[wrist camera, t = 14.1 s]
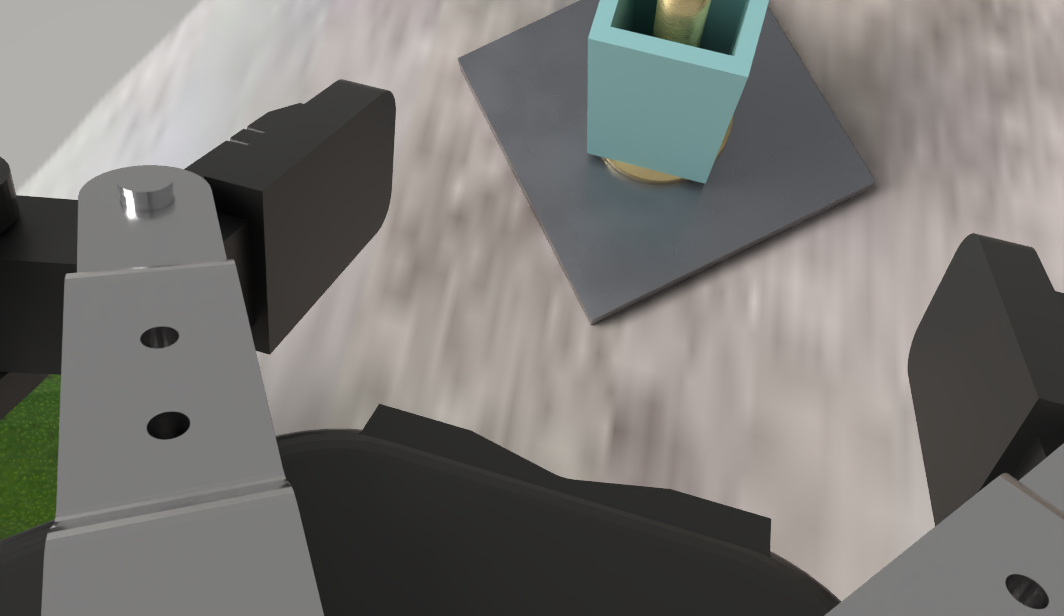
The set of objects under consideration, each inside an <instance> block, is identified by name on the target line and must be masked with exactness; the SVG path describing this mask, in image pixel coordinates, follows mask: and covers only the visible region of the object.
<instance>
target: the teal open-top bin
mask: <svg viewBox="0 0 1064 616" xmlns="http://www.w3.org/2000/svg"><path fill="white" fill-rule="evenodd" d="M657 1H658V0H600V1H599V4H598V8H597V11H596V14H595V17H594V20H593V24H592V27H591V30H590V33H589V36H588V97H587V153H588V154H592V155H596V156H600V157H604V158H608V159H612V160H615V161H619V162H623V163H627V164H631V165H635V166H639V167H642V168H646V169H650V170H654V171H658V172H662V173H666V174H669V175H673V176H677V177H681V178H685V179H689V180H693V181H696V182H700V183H704V184H706V181H707V179H708V176H709V174H710V171H711V169H712V166H713V164H714V161H715V159H716V156H717V154H718V151H719V149H720V146H721V144H722V141H723V139H724V136H725V134H726V131H727V129H728V126H729V124H730V121H731V119H732V116H733V114H734V111H735V109H736V106H737V104H738V101H739V99H740V96H741V94H742V91H743V89H744V86H745V84H746V81H747V79H748V76H749V72H750V69H751V65H752V61H753V58H754V54H755V50H756V47H757V43H758V39H759V36H760V32H761V28H762V25H763V21H764V17H765V13H766V10H767V6H768V2H769V0H711V2H710V6H709V10H708V14H707V18H706V22H705V25H704V29H703V33H702V37H701V41H700V45H699V48H697V47H693V46H689V45H685V44H681V43H677V42H672V41H668V40H664V39H660V38H656V37H652V34H653V27H654V21H655V14H656V7H657Z"/></svg>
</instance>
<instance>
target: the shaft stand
mask: <svg viewBox="0 0 1064 616" xmlns="http://www.w3.org/2000/svg"><path fill="white" fill-rule="evenodd" d="M599 1H600V0H580V1H578V2H576V3H574V4H572V5H569V6H567V7H565V8H563V9H561V10H559V11H557V12H555V13H553V14H550V15H548V16H546V17H544V18H542V19H540V20H538V21H536V22H534V23H531V24H529V25H527V26H525V27H523V28H521V29H519V30H517V31H515V32H512V33H510V34H508V35H506V36H504V37H502V38H500V39H498V40H496V41H493V42H491V43H489V44H487V45H485V46H483V47H481V48H479V49H477V50H475V51H472V52H470V53H468V54H466V55H464V56H462V57H460V58H458V62H459V65H460V68H461V71H462V73H463V75H464V77H465V79H466V81H467V83H468V85H469V87H470V89H471V91H472V93H473V95H474V97H475V99H476V101H477V103H478V104H479V106H480V108H481V110H482V112H483V114H484V116H485V118H486V120H487V122H488V124H489V126H490V128H491V130H492V132H493V134H494V136H495V138H496V140H497V142H498V144H499V146H500V148H501V150H502V152H503V153H504V155H505V157H506V159H507V161H508V163H509V165H510V167H511V169H512V171H513V173H514V175H515V177H516V179H517V181H518V183H519V185H520V187H521V189H522V191H523V193H524V195H525V197H526V199H527V200H528V202H529V204H530V206H531V208H532V210H533V212H534V214H535V216H536V218H537V220H538V222H539V224H540V226H541V228H542V230H543V232H544V234H545V236H546V238H547V240H548V242H549V244H550V246H551V247H552V249H553V251H554V253H555V255H556V257H557V259H558V261H559V263H560V265H561V267H562V269H563V271H564V273H565V275H566V277H567V279H568V281H569V283H570V285H571V287H572V289H573V291H574V293H575V294H576V296H577V298H578V300H579V302H580V304H581V306H582V308H583V310H584V312H585V314H586V316H587V318H588V320H589V322H590V324H591V325H593V324H595V323H597V322H599V321H601V320H603V319H605V318H607V317H609V316H611V315H613V314H615V313H617V312H619V311H621V310H623V309H625V308H627V307H629V306H631V305H633V304H635V303H637V302H640V301H642V300H644V299H646V298H648V297H650V296H652V295H654V294H656V293H658V292H660V291H662V290H664V289H666V288H668V287H670V286H672V285H674V284H676V283H678V282H680V281H682V280H685V279H687V278H689V277H691V276H693V275H695V274H697V273H699V272H701V271H703V270H705V269H707V268H709V267H711V266H713V265H715V264H717V263H719V262H721V261H723V260H725V259H727V258H729V257H732V256H734V255H736V254H738V253H740V252H742V251H744V250H746V249H748V248H750V247H752V246H754V245H756V244H758V243H760V242H762V241H764V240H766V239H768V238H770V237H772V236H774V235H776V234H779V233H781V232H783V231H785V230H787V229H789V228H791V227H793V226H795V225H797V224H799V223H801V222H803V221H805V220H807V219H809V218H811V217H813V216H815V215H817V214H819V213H821V212H824V211H826V210H828V209H830V208H832V207H834V206H836V205H838V204H840V203H842V202H844V201H846V200H848V199H850V198H852V197H854V196H856V195H858V194H860V193H862V192H864V191H866V190H867V189H868V188H869V187H870V186H871V185H872V184H873V183H874V182H875V180H874V178H873V177H872V175H871V173H870V172H869V170H868V168H867V167H866V165H865V163H864V162H863V160H862V159H861V157H860V155H859V154H858V152H857V150H856V149H855V147H854V146H853V144H852V142H851V141H850V139H849V137H848V136H847V134H846V133H845V131H844V129H843V128H842V126H841V124H840V123H839V121H838V120H837V118H836V116H835V115H834V113H833V111H832V110H831V108H830V107H829V105H828V103H827V102H826V100H825V98H824V97H823V95H822V94H821V92H820V90H819V89H818V87H817V85H816V84H815V82H814V81H813V79H812V77H811V76H810V74H809V72H808V71H807V69H806V68H805V66H804V64H803V63H802V61H801V59H800V58H799V56H798V55H797V53H796V51H795V50H794V48H793V46H792V45H791V43H790V42H789V40H788V38H787V37H786V35H785V33H784V32H783V30H782V29H781V27H780V25H779V24H778V22H777V20H776V19H775V17H774V16H773V14H772V12H771V11H770V9H769V7H768V6H767V10H766V13H765V17H764V21H763V25H762V28H761V32H760V36H759V39H758V43H757V47H756V50H755V54H754V58H753V61H752V65H751V69H750V72H749V76H748V79H747V81H746V84H745V86H744V89H743V91H742V94H741V96H740V99H739V101H738V104H737V106H736V109H735V111H734V114H733V116H732V119H731V121H730V124H729V126H728V129H727V131H726V134H725V136H724V139H723V141H722V144H721V146H720V149H719V151H718V154H717V156H716V159H715V161H714V164H713V166H712V169H711V171H710V174H709V176H708V179H707V181H706V184H704V183H700V182H696V181H693V180H689V179H685V178H681V177H677V176H673V175H669V174H666V173H662V172H658V171H654V170H650V169H646V168H642V167H639V166H635V165H631V164H627V163H623V162H619V161H615V160H612V159H608V158H604V157H600V156H596V155H592V154H588V153H587V97H588V36H589V33H590V30H591V27H592V24H593V20H594V17H595V14H596V11H597V8H598V4H599ZM710 2H711V0H658V1H657V7H656V14H655V21H654V27H653V34H652V37H656V38H660V39H664V40H668V41H672V42H677V43H681V44H685V45H689V46H693V47H697V48H699V45H700V41H701V37H702V33H703V29H704V25H705V22H706V18H707V14H708V10H709V6H710Z"/></svg>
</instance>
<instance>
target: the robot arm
mask: <svg viewBox="0 0 1064 616" xmlns="http://www.w3.org/2000/svg"><path fill="white" fill-rule="evenodd" d="M395 116H396V106H395V99H394V96H393V94H392V93H391V92H390V91H388V90H384V89H380V88H375V87H371V86H367V85H363V84H359V83H355V82H351V81H346V80H342V79H341V80H338V81H336V82H335V83H333V84H332V85H331V86H329V87H328V88H326V89H325V90H324V91H322V92H321V93H319V94H318V95H317V96H315V97H314V98H312V99H311V100H309V101H308V102H307V103H305V104H302V103H298V104H295V105H291V106H288V107H284V108H281V109H277V110H274V111H270V112H268V113H266V114H265V115H263V116H262V117H260V118H259V119H257V120H256V121H254V122H253V123H252V124H250V125H249V126H248V128H247V130H246V129H243V130H241V131H240V132H238V133H237V134H235V135H234V136H232V137H231V139H230V142H229V141H225V142H224V143H222V144H221V145H219V146H218V147H216V148H215V149H213V150H212V151H210V152H209V153H207V154H206V155H204V156H203V157H201V158H200V159H198V160H197V161H196V162H194V163H193V164H191V165H190V166H188V167H187V168H185V169H180V168H175V167H168V166H157V165H143V166H132V167H126V168H120V169H116V170H112V171H109V172H106V173H103V174H101V175H99V176H97V177H95V178H93V179H91V180H90V181H88V182H87V183H86V184H85V185H84V186H83V187H82V189H81V190H80V192H79V196H78V200H69V199H56V198H43V197H30V196H17V195H16V193H15V188H14V184H13V180H12V175H11V171H10V168H9V165H8V163H7V162H6V161H5V160H4V159H2V158H1V157H0V421H1V420H2V419H3V418H4V417H5V416H6V415H7V414H8V413H9V412H10V411H11V410H12V409H13V408H15V407H16V406H17V405H18V404H19V403H20V402H21V401H22V400H23V399H24V398H25V397H26V396H28V395H29V394H30V393H31V392H32V391H33V390H34V389H35V388H36V387H37V386H38V385H39V384H41V383H42V382H43V381H44V380H45V378H46V377H47V376H48V375H49V374H57V375H61V393H60V420H59V447H58V475H57V502H56V516H55V519H54V520H52V521H49V522H46V523H44V524H41V525H39V526H36V527H33V528H31V529H28V530H26V531H23V532H20V533H18V534H15V535H13V536H10V537H7V538H5V539H2V540H0V616H1064V293H1060V292H1056V291H1055V290H1054V288H1053V286H1052V284H1051V282H1050V280H1049V278H1048V276H1047V274H1046V272H1045V269H1044V267H1043V265H1042V263H1041V261H1040V259H1039V257H1038V255H1037V253H1036V251H1035V249H1033V248H1032V247H1028V246H1024V245H1020V244H1016V243H1012V242H1008V241H1003V240H999V239H995V238H991V237H987V236H983V235H979V234H974V233H973V234H970V235H968V236H967V237H966V238H965V239H964V240H963V242H962V243H961V244H960V246H959V247H958V249H957V251H956V253H955V255H954V257H953V259H952V261H951V263H950V265H949V267H948V269H947V271H946V273H945V275H944V277H943V279H942V281H941V283H940V284H939V286H938V288H937V290H936V292H935V294H934V296H933V298H932V300H931V302H930V304H929V306H928V308H927V310H926V312H925V314H924V316H923V318H922V320H921V322H920V324H919V326H918V328H917V330H916V333H915V335H914V338H913V341H912V345H911V348H910V353H909V359H908V376H909V382H910V387H911V393H912V399H913V404H914V410H915V415H916V421H917V427H918V432H919V438H920V443H921V449H922V455H923V460H924V466H925V472H926V477H927V483H928V488H929V494H930V500H931V505H932V511H933V516H934V522H935V527H934V528H933V529H932V530H931V531H929V532H928V533H927V534H926V535H924V536H923V537H922V538H921V539H919V540H918V541H917V542H916V543H914V544H913V545H912V546H911V547H909V548H908V549H907V550H906V551H904V552H903V553H902V554H901V555H899V556H898V557H897V558H896V559H894V560H893V561H892V562H891V563H889V564H888V565H887V566H886V567H884V568H883V569H882V570H881V571H879V572H878V573H877V574H876V575H874V576H873V577H872V578H871V579H869V580H868V581H867V582H866V583H864V584H863V585H862V586H861V587H859V588H858V589H857V590H856V591H854V592H853V593H852V594H851V595H849V596H848V597H847V598H846V599H844V600H843V601H842V602H841V601H840V600H839V599H838V598H837V597H836V596H835V595H834V594H832V593H831V592H830V591H829V590H828V589H827V588H826V587H824V586H823V585H822V584H820V583H819V582H818V581H816V580H815V579H814V578H813V577H811V576H810V575H809V574H807V573H806V572H804V571H803V570H801V569H800V568H798V567H797V566H795V565H793V564H792V563H790V562H789V561H787V560H786V559H784V558H782V557H780V556H778V555H776V554H775V553H773V552H771V551H770V534H771V519H770V518H767V517H764V516H760V515H757V514H753V513H750V512H746V511H743V510H740V509H736V508H733V507H729V506H726V505H723V504H719V503H716V502H712V501H709V500H706V499H702V498H699V497H695V496H692V495H688V494H685V493H682V492H678V491H675V490H671V489H664V488H653V487H643V486H633V485H623V484H612V483H602V482H592V481H582V480H573V479H567V478H563V477H560V476H558V475H555V474H553V473H551V472H549V471H547V470H545V469H543V468H542V467H540V466H538V465H536V464H534V463H532V462H530V461H528V460H526V459H524V458H522V457H520V456H519V455H517V454H515V453H513V452H511V451H509V450H507V449H505V448H503V447H501V446H499V445H497V444H496V443H494V442H492V441H490V440H488V439H486V438H484V437H482V436H480V435H478V434H476V433H474V432H473V431H470V430H467V429H463V428H460V427H457V426H453V425H450V424H446V423H443V422H440V421H436V420H433V419H429V418H426V417H423V416H419V415H416V414H412V413H409V412H405V411H402V410H399V409H395V408H392V407H388V406H385V405H382V404H379V405H378V407H377V408H376V410H375V411H374V413H373V415H372V416H371V418H370V419H369V421H368V422H367V424H366V425H365V427H364V429H363V430H358V429H320V430H309V431H301V432H295V433H290V434H284V435H280V436H276V437H275V432H274V428H273V424H272V419H271V415H270V411H269V407H268V402H267V398H266V394H265V389H264V385H263V381H262V376H261V372H260V368H259V363H258V359H257V355H256V351H259V352H263V353H266V354H271V353H272V352H273V350H274V349H275V348H276V347H277V346H278V345H279V344H280V343H281V341H282V340H283V339H284V338H285V337H286V336H287V335H288V333H289V332H290V331H291V330H292V329H293V328H294V327H295V325H296V324H297V323H298V322H299V321H300V320H301V319H302V317H303V316H304V315H305V314H306V313H307V312H308V311H309V309H310V308H311V307H312V306H313V305H314V304H315V303H316V301H317V300H318V299H319V298H320V297H321V296H322V295H323V293H324V292H325V291H326V290H327V289H328V288H329V287H330V286H331V284H332V283H333V282H334V281H335V280H336V279H337V278H338V276H339V275H340V274H341V273H342V272H343V271H344V270H345V268H346V267H347V266H348V265H349V264H350V263H351V262H352V260H353V259H354V258H355V257H356V256H357V255H358V254H359V252H360V251H361V250H362V249H363V248H364V247H365V246H366V244H367V243H368V242H369V241H370V240H371V239H372V238H373V236H374V235H375V234H376V233H377V232H378V231H379V229H380V228H381V226H382V224H383V222H384V220H385V217H386V214H387V211H388V208H389V204H390V199H391V191H392V173H393V154H394V135H395Z"/></svg>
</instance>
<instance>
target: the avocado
mask: <svg viewBox="0 0 1064 616" xmlns="http://www.w3.org/2000/svg"><path fill="white" fill-rule="evenodd" d="M60 393H61V375H57V374H49V375H48V376H47V377H46V378H45V380H44V381H43V382H42V383H41V384H39V385H38V386H37V387H36V388H35V389H34V390H33V391H32V392H31V393H30V394H29V395H28V396H26V397H25V398H24V399H23V400H22V401H21V402H20V403H19V404H18V405H17V406H16V407H15V408H13V409H12V410H11V411H10V412H9V413H8V414H7V415H6V416H5V417H4V418H3V419H2V420H1V421H0V540H2V539H5V538H7V537H10V536H13V535H15V534H18V533H20V532H23V531H26V530H28V529H31V528H33V527H36V526H39V525H41V524H44V523H46V522H49V521H52V520H54V519H55V516H56V502H57V475H58V447H59V420H60Z"/></svg>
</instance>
